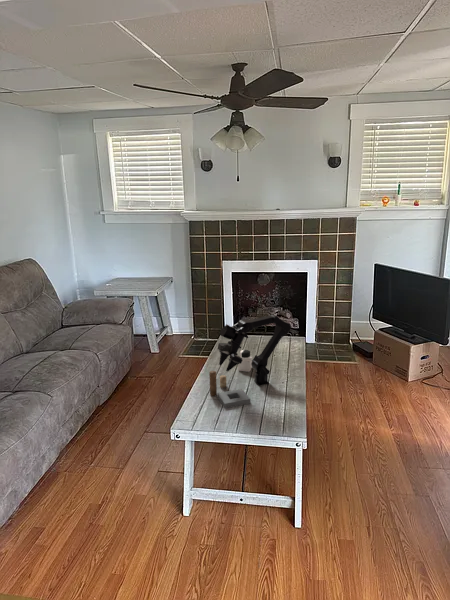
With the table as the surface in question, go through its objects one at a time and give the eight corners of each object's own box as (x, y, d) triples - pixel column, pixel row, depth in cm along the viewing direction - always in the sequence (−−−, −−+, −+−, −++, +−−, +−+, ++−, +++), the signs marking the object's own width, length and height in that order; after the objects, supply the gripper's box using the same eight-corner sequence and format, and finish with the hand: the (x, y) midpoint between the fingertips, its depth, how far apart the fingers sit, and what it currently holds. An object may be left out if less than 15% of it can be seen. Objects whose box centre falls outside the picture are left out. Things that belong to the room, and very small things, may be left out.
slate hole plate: (242, 392, 229) (241, 388, 229) (250, 403, 218) (250, 398, 218) (217, 397, 225) (217, 393, 224) (224, 408, 214) (224, 403, 213)
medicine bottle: (252, 367, 261) (252, 349, 258) (249, 372, 255) (249, 353, 251) (241, 366, 263) (240, 348, 260) (238, 370, 256) (238, 352, 253)
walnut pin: (215, 392, 230) (214, 370, 227) (217, 395, 227) (217, 373, 224) (209, 393, 229) (208, 371, 226) (211, 396, 226) (210, 374, 223)
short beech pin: (225, 384, 239) (225, 374, 238) (227, 387, 236) (227, 377, 234) (219, 385, 238) (218, 375, 237) (221, 388, 235) (221, 378, 233)
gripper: (217, 332, 232) (204, 357, 233) (231, 342, 216) (218, 370, 216) (233, 338, 238) (220, 363, 238) (248, 349, 221) (235, 376, 222)
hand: (223, 368), depth 228 cm, fingers open, 9 cm apart
